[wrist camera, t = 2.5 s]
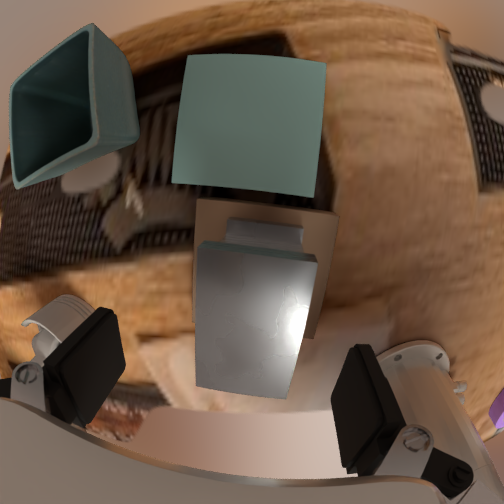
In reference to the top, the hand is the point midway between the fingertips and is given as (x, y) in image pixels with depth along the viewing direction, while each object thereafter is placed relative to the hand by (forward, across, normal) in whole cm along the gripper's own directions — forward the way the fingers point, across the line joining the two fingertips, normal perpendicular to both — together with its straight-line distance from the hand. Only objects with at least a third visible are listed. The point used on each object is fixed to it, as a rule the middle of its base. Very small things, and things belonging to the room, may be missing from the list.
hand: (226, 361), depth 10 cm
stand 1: (+13, +1, -10) cm, 16 cm away
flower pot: (+13, +13, -11) cm, 22 cm away
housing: (+10, -1, +1) cm, 11 cm away
